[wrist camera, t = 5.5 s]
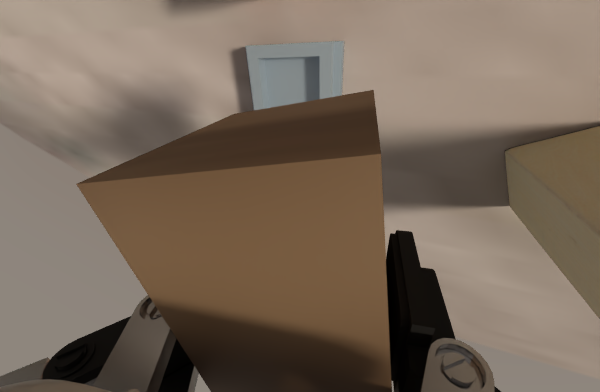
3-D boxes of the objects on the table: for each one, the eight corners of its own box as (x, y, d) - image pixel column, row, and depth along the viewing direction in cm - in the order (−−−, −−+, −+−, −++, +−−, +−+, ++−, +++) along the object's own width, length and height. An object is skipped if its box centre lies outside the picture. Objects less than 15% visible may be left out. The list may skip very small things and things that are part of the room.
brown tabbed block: (234, 113, 9) (5, 216, 3) (373, 89, 8) (386, 197, 2) (294, 317, 15) (243, 498, 9) (386, 325, 13) (400, 551, 7)
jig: (249, 45, 24) (235, 46, 22) (344, 41, 22) (340, 40, 20) (272, 230, 36) (264, 244, 33) (335, 238, 34) (332, 254, 31)
